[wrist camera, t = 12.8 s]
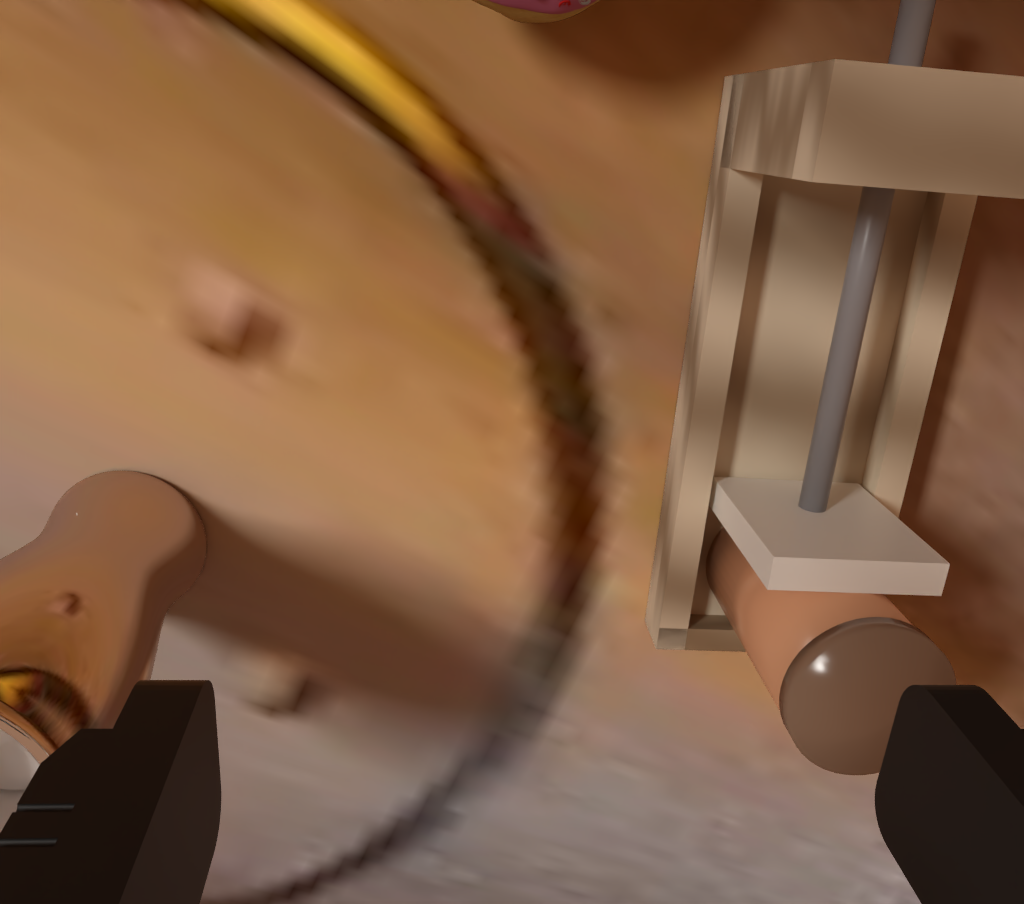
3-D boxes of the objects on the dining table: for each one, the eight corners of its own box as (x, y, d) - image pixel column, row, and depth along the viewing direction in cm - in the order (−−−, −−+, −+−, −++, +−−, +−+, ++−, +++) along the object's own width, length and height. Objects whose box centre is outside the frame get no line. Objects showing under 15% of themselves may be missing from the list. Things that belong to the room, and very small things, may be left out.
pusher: (795, -20, 29) (895, -61, 23) (968, -3, 30) (1114, -37, 23) (708, 504, 36) (767, 590, 29) (851, 510, 36) (941, 595, 30)
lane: (725, 76, 32) (834, 59, 23) (966, 98, 32) (1164, 89, 24) (644, 621, 39) (704, 768, 30) (843, 627, 40) (957, 772, 31)
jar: (714, 499, 36) (806, 627, 27) (842, 505, 37) (975, 633, 27) (694, 616, 38) (774, 774, 29) (816, 620, 38) (933, 776, 29)
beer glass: (250, 515, 36) (127, 767, 22) (169, 642, 38) (7, 950, 24) (87, 426, 34) (-160, 637, 20) (10, 563, 36) (-266, 846, 22)
